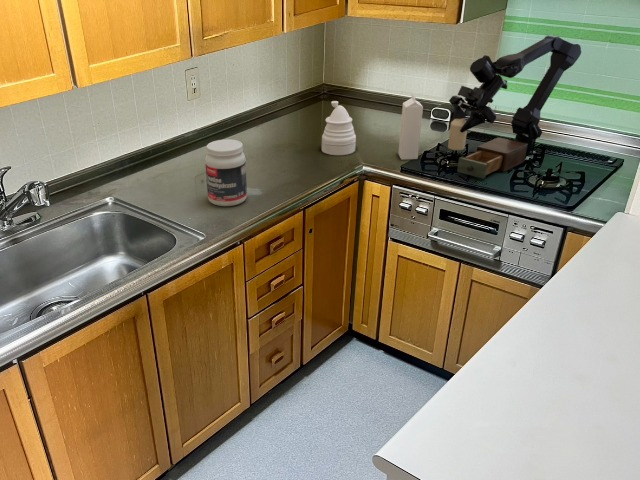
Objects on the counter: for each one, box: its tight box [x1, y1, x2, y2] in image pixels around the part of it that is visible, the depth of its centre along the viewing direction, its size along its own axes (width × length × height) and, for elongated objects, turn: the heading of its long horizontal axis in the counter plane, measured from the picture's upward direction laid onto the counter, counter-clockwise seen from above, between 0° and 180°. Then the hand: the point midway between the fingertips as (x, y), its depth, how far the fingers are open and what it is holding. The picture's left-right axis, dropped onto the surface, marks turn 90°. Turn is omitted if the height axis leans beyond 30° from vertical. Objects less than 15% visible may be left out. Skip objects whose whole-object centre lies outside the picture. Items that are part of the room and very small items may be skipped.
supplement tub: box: [204, 138, 248, 207], centre depth 199 cm, size 13×13×18 cm
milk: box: [398, 93, 424, 161], centre depth 224 cm, size 6×6×22 cm
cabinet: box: [476, 136, 528, 173], centre depth 218 cm, size 14×11×7 cm
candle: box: [447, 118, 468, 151], centre depth 213 cm, size 6×6×10 cm
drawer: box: [456, 150, 504, 179], centre depth 211 cm, size 14×10×5 cm
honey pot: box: [321, 100, 357, 156], centre depth 236 cm, size 13×13×18 cm
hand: (455, 129), depth 212 cm, fingers closed on candle, 5 cm apart
